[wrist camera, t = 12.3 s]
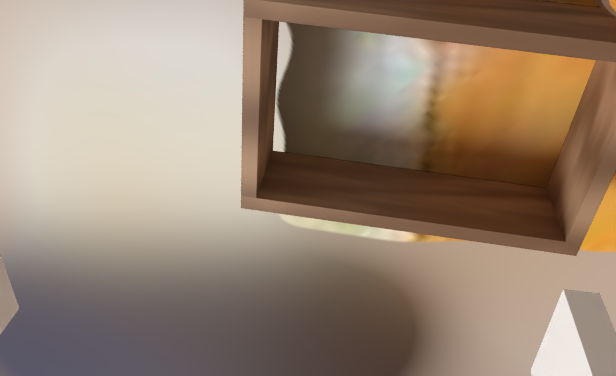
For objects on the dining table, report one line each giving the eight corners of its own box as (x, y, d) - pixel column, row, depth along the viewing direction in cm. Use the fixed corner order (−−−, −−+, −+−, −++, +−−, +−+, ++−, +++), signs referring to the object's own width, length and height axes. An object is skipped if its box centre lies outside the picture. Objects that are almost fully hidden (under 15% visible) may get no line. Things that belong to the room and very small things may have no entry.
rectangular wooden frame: (265, -32, 35) (243, -2, 31) (633, 11, 34) (672, 49, 29) (258, 160, 44) (241, 207, 39) (555, 201, 42) (576, 255, 37)
